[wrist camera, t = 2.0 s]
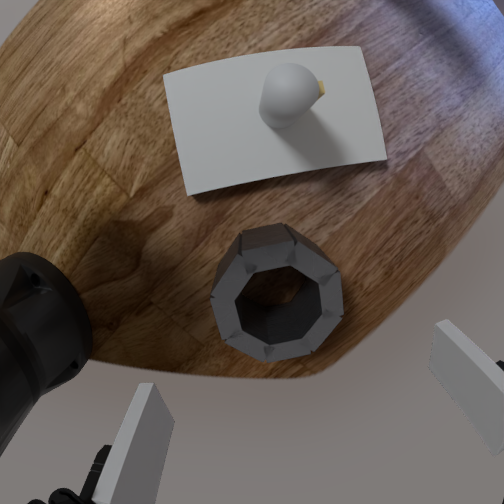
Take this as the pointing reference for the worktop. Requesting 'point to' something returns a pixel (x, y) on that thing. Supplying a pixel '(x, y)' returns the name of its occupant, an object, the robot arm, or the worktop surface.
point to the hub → (281, 315)
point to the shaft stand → (273, 115)
